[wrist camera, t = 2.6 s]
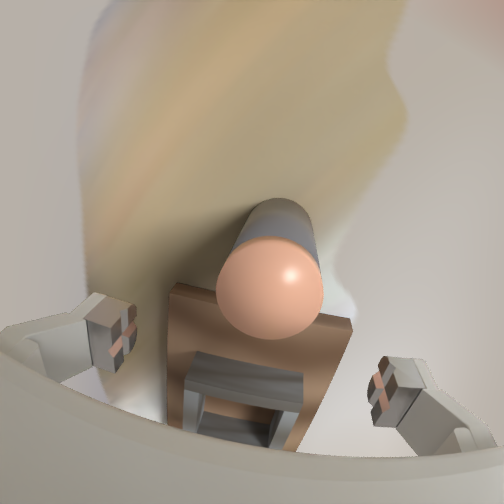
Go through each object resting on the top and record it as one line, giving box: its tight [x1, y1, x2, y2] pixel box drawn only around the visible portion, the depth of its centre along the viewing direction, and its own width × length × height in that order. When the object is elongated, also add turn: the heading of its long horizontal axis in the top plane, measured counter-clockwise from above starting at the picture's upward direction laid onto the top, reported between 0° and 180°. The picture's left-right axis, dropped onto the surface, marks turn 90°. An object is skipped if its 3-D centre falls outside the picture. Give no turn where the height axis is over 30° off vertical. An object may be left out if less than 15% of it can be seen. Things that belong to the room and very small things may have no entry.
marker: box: [216, 198, 324, 340], centre depth 15 cm, size 4×4×8 cm
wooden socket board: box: [167, 283, 353, 452], centre depth 22 cm, size 16×12×4 cm
